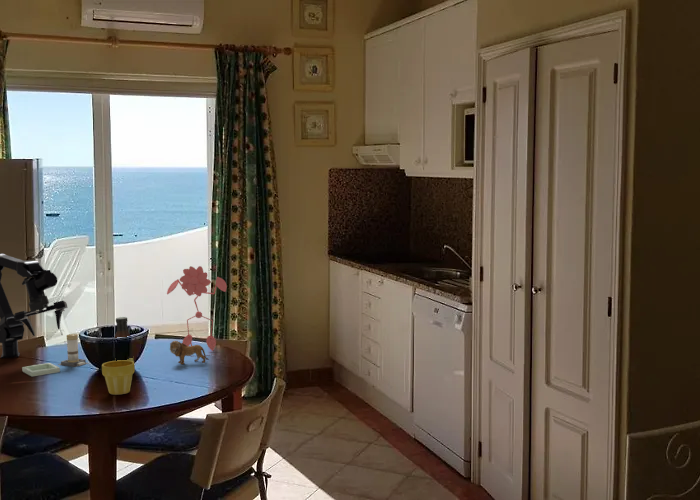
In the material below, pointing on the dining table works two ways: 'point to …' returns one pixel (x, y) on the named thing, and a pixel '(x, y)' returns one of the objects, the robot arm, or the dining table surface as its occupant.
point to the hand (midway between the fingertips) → (46, 332)
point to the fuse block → (75, 364)
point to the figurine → (197, 285)
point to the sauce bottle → (122, 329)
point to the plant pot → (118, 376)
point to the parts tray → (40, 369)
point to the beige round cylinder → (72, 347)
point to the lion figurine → (186, 351)
